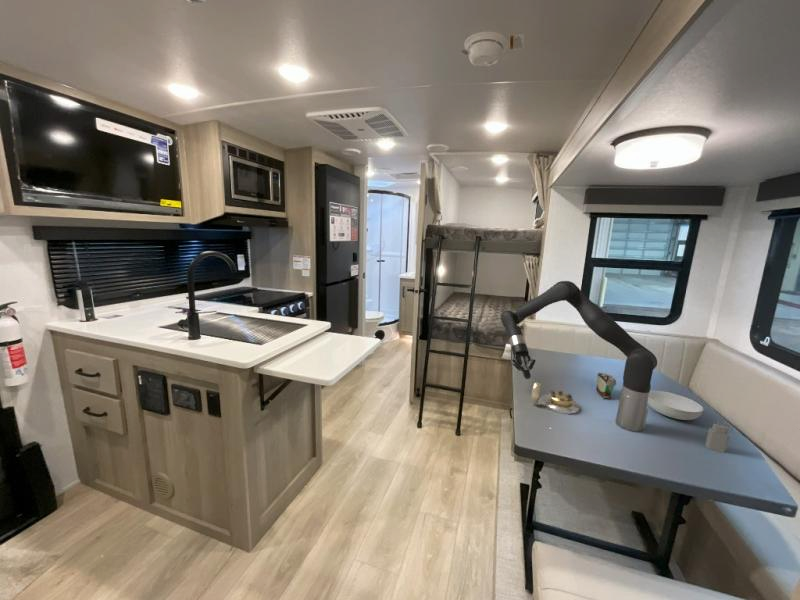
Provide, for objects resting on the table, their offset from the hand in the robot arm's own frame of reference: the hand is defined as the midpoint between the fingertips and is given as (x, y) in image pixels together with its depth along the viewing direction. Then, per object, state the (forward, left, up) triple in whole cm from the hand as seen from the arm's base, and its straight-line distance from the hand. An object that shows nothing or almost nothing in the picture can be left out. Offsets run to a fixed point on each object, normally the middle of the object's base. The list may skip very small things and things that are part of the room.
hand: (528, 378), depth 157 cm
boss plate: (-14, +6, -10) cm, 18 cm away
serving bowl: (-65, +8, -10) cm, 66 cm away
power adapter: (-61, +34, -10) cm, 71 cm away
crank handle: (-9, +7, -8) cm, 14 cm away
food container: (-44, -7, -10) cm, 46 cm away
